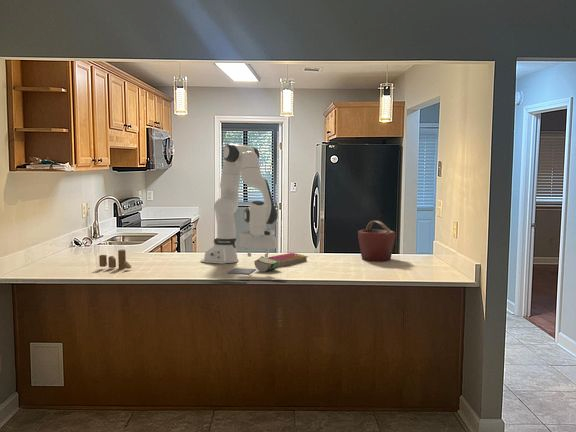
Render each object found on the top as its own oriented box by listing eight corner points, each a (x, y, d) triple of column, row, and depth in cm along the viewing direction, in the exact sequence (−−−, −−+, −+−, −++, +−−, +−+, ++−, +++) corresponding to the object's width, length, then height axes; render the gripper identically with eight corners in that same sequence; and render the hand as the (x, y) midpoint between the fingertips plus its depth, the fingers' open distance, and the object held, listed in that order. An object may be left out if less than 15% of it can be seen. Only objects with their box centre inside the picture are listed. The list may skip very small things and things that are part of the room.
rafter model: (273, 270, 308) (273, 259, 308) (253, 267, 317) (253, 256, 317) (308, 262, 337) (308, 252, 336) (289, 259, 345) (289, 250, 345)
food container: (270, 276, 297) (280, 271, 305) (270, 265, 296) (280, 260, 304) (251, 271, 303) (261, 265, 312) (252, 260, 302) (262, 255, 310)
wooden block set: (98, 270, 301) (97, 252, 300) (104, 266, 310) (104, 248, 308) (129, 271, 300) (129, 253, 298) (135, 267, 308) (135, 249, 306)
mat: (227, 273, 294) (227, 272, 294) (234, 269, 308) (234, 268, 308) (248, 274, 292) (248, 273, 292) (255, 270, 305) (255, 268, 305)
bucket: (398, 264, 329) (399, 222, 327) (361, 264, 327) (362, 222, 325) (387, 258, 353) (388, 219, 351) (353, 258, 352) (354, 219, 350)
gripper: (237, 231, 295) (237, 256, 296) (274, 232, 291) (274, 258, 292) (241, 230, 301) (240, 255, 302) (277, 231, 297) (277, 256, 298)
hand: (257, 256), depth 297 cm, fingers open, 8 cm apart
